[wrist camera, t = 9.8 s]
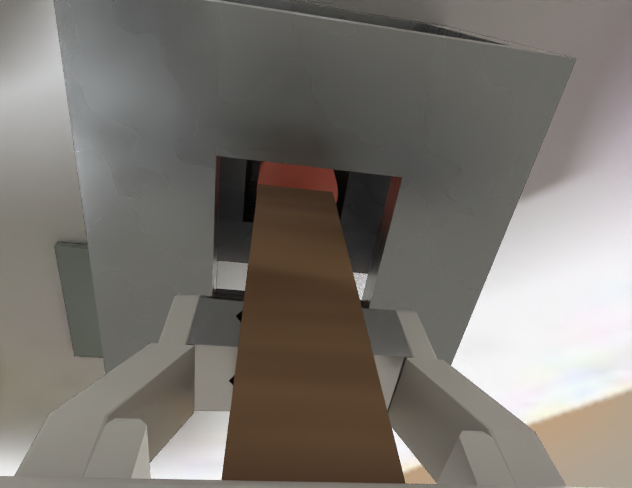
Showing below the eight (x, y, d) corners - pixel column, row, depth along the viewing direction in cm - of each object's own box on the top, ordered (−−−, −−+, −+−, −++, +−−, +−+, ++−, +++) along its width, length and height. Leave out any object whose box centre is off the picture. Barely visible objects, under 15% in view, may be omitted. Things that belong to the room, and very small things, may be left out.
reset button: (322, 183, 21) (330, 233, 17) (260, 176, 21) (253, 225, 17) (331, 122, 20) (344, 160, 16) (265, 113, 19) (259, 150, 15)
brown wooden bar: (321, 254, 15) (372, 597, 7) (252, 248, 15) (213, 599, 6) (332, 191, 14) (412, 509, 5) (258, 184, 14) (217, 507, 5)
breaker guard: (386, 256, 25) (437, 396, 17) (171, 236, 24) (106, 379, 15) (446, 26, 19) (576, 58, 11) (165, -19, 18) (50, -25, 9)
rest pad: (206, 359, 28) (205, 363, 28) (77, 351, 27) (74, 356, 27) (209, 255, 24) (208, 259, 24) (57, 242, 23) (54, 246, 23)
